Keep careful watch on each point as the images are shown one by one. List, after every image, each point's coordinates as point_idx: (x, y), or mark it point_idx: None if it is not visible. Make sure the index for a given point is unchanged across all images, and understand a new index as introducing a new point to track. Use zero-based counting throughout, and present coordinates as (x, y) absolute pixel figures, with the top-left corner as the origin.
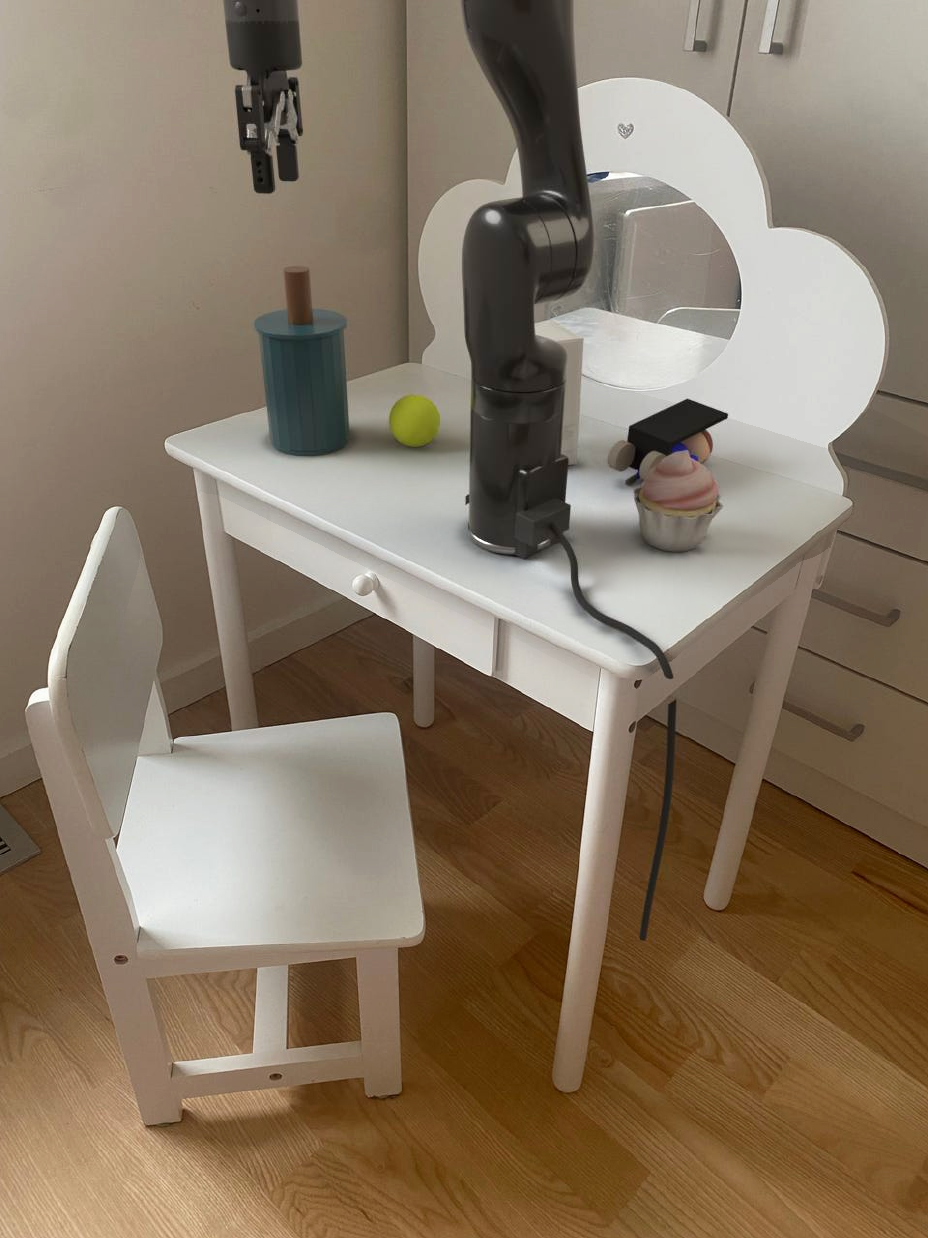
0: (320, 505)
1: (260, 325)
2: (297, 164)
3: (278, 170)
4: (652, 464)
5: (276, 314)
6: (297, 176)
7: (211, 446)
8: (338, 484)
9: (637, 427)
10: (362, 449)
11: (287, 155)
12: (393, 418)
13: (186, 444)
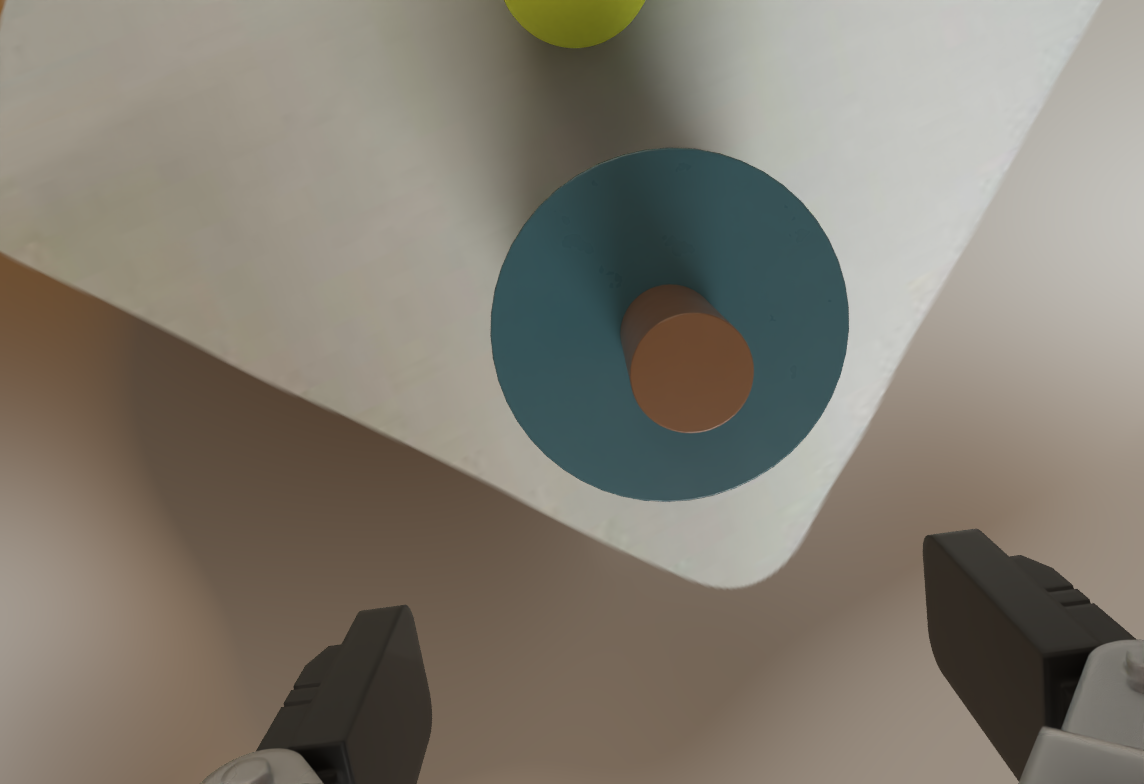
0: (1010, 78)
1: (766, 447)
2: (345, 656)
3: (420, 760)
4: None
5: (618, 456)
6: (394, 608)
7: (754, 498)
8: (883, 86)
9: None
10: (653, 116)
11: (383, 754)
12: (636, 7)
13: (761, 559)
